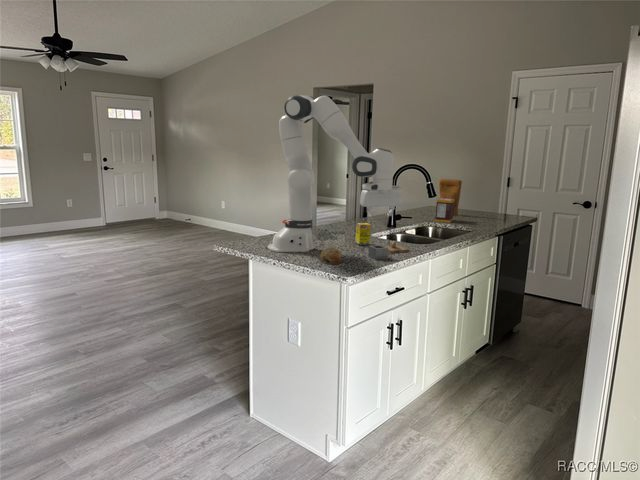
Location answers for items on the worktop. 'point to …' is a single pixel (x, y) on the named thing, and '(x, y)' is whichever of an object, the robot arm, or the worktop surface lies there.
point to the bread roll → (331, 256)
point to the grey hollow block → (378, 252)
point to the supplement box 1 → (362, 234)
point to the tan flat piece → (396, 248)
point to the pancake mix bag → (450, 191)
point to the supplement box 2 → (445, 210)
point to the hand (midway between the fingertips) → (380, 216)
